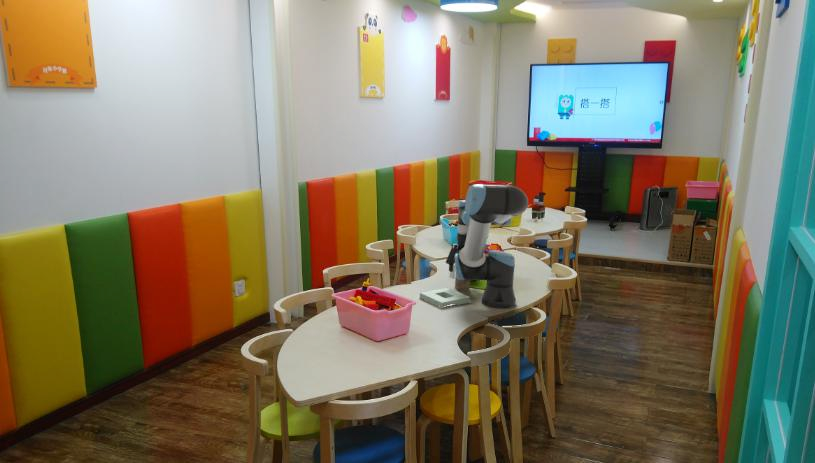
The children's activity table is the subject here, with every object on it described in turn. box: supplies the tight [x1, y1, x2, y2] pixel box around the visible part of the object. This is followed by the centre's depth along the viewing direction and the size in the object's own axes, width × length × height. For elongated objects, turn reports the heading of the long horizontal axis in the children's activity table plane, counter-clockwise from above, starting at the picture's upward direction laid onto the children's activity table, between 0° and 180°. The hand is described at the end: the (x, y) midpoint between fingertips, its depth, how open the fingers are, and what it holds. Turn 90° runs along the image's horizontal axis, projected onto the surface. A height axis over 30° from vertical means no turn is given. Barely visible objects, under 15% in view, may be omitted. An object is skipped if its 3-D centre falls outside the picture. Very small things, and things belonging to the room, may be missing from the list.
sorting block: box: [419, 287, 471, 308], centre depth 259 cm, size 16×16×2 cm
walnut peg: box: [454, 277, 471, 292], centre depth 277 cm, size 6×4×13 cm, turn 35°
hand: (462, 276), depth 277 cm, fingers open, 13 cm apart
